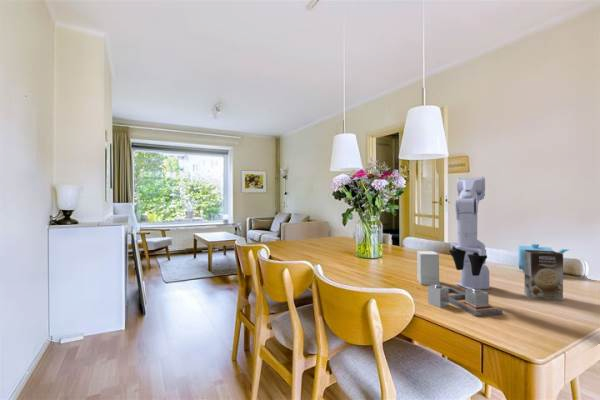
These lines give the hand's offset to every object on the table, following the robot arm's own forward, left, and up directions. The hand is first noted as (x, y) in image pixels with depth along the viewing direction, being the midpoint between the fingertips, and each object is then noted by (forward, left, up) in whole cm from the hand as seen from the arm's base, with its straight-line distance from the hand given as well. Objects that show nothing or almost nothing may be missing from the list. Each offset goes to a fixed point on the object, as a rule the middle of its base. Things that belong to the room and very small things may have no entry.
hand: (467, 272), depth 101 cm
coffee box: (-27, +3, -10) cm, 29 cm away
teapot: (-58, -24, -10) cm, 64 cm away
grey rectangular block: (+3, +8, -10) cm, 13 cm away
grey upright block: (+12, +1, -10) cm, 15 cm away
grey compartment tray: (+3, +1, -10) cm, 10 cm away
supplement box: (+1, -22, -10) cm, 24 cm away
